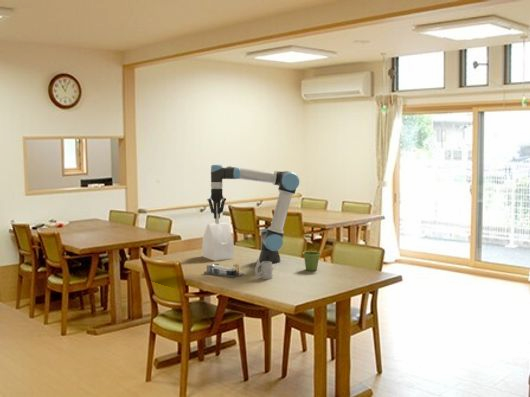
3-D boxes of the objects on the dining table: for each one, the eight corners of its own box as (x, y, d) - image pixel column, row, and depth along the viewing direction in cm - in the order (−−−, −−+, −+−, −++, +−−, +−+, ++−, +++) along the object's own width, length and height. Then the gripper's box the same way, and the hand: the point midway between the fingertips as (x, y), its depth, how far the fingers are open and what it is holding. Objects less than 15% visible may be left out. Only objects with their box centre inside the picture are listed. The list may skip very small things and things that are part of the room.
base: (204, 273, 389) (204, 262, 388) (213, 270, 397) (213, 259, 397) (234, 278, 376) (234, 266, 375) (243, 275, 384) (243, 263, 384)
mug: (274, 278, 375) (275, 259, 374) (257, 280, 370) (257, 261, 369) (269, 276, 382) (269, 257, 381) (252, 277, 377) (252, 258, 376)
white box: (202, 256, 445) (202, 222, 442) (220, 254, 453) (220, 220, 450) (214, 260, 429) (214, 225, 426) (233, 258, 437) (233, 224, 434)
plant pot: (299, 270, 397) (299, 253, 396) (306, 267, 408) (307, 250, 407) (316, 272, 392) (316, 255, 391) (323, 269, 402) (323, 252, 401)
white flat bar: (209, 268, 390) (209, 265, 390) (214, 266, 394) (214, 264, 394) (231, 271, 380) (231, 268, 380) (236, 270, 384) (236, 267, 384)
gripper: (223, 187, 409) (223, 222, 411) (205, 188, 403) (205, 223, 405) (228, 188, 402) (228, 223, 405) (209, 188, 396) (210, 224, 398)
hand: (216, 223), depth 405 cm, fingers closed
